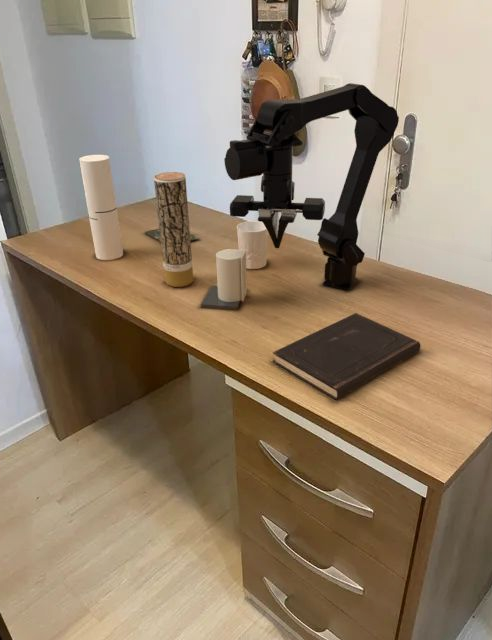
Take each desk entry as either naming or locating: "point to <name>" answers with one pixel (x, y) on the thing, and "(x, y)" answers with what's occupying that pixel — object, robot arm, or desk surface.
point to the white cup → (253, 243)
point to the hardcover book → (345, 354)
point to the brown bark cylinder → (174, 228)
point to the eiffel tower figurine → (157, 234)
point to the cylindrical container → (101, 206)
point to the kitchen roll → (231, 275)
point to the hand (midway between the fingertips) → (277, 247)
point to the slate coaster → (217, 301)
